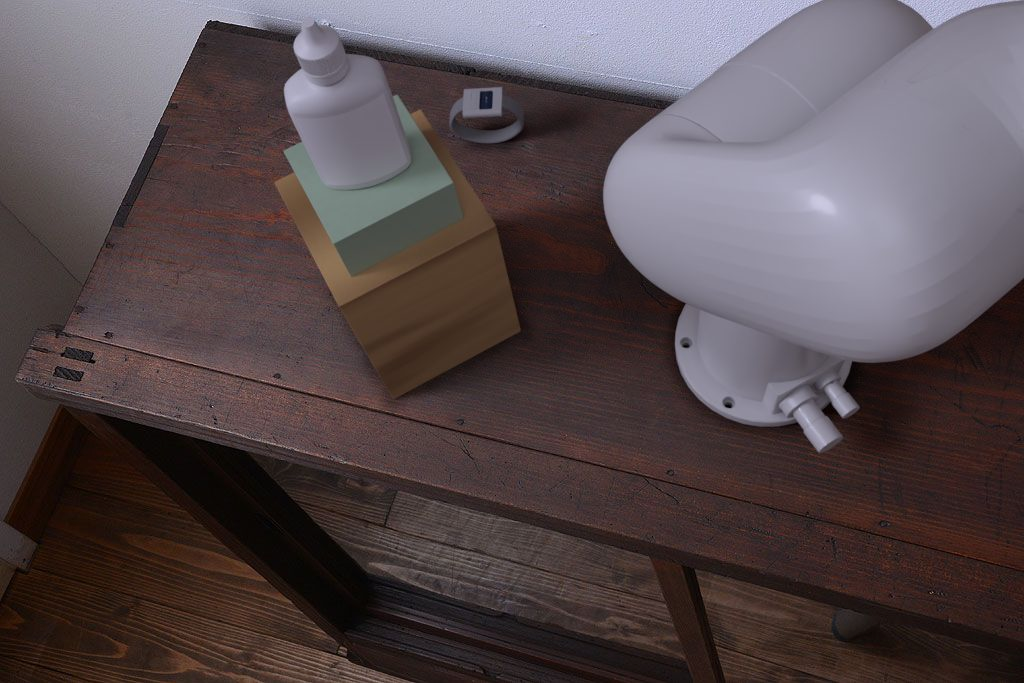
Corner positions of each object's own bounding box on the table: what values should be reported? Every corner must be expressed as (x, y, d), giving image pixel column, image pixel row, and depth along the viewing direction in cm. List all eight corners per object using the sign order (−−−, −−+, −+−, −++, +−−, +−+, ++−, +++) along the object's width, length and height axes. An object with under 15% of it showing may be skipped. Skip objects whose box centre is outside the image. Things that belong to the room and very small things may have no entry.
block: (464, 219, 61) (453, 182, 58) (351, 277, 60) (333, 243, 57) (410, 133, 65) (397, 93, 61) (302, 187, 64) (282, 150, 60)
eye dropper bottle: (399, 202, 58) (345, 62, 47) (312, 188, 59) (240, 49, 48) (420, 143, 59) (373, -5, 49) (336, 130, 61) (271, -17, 50)
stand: (521, 331, 74) (496, 225, 61) (393, 399, 73) (339, 306, 60) (457, 228, 79) (420, 108, 66) (336, 290, 78) (273, 181, 64)
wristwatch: (453, 153, 82) (443, 115, 78) (455, 127, 84) (445, 88, 79) (526, 149, 82) (520, 111, 77) (527, 123, 83) (520, 84, 78)
